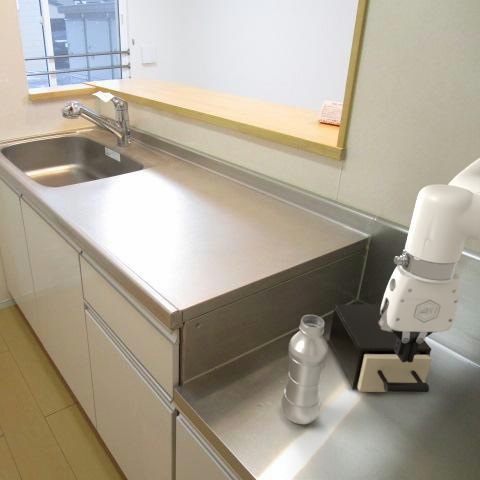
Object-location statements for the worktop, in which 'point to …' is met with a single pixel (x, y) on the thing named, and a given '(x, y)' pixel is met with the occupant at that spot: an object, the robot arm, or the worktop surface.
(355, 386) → the black rectangular box
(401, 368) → the beige drawer
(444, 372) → the worktop surface
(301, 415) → the plastic bottle
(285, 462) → the worktop surface
